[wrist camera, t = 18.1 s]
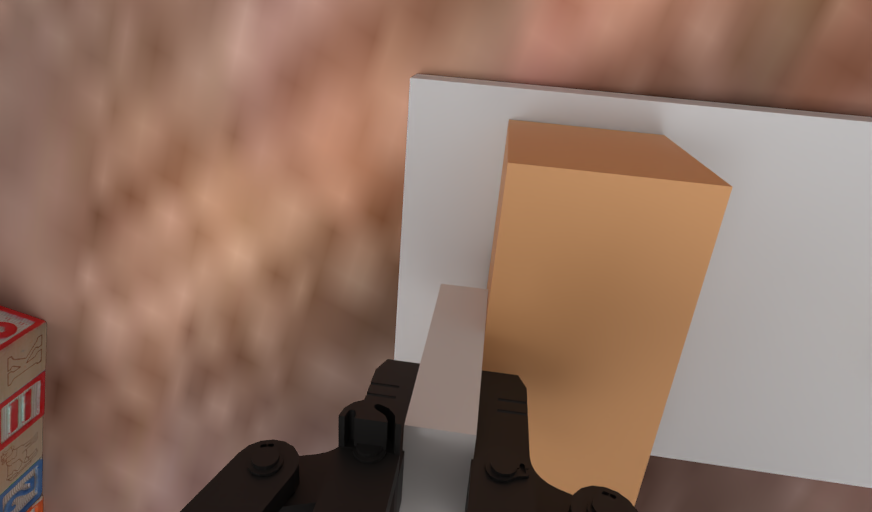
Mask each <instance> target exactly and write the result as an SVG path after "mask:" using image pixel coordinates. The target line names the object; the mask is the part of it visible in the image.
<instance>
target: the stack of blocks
mask: <svg viewBox="0 0 872 512" xmlns="http://www.w3.org/2000/svg"><path fill="white" fill-rule="evenodd" d="M46 335H47V324H46V321H44V320H41V319H38V318H35V317H32V316H29V315H27V314H24V313H21V312H18V311H15V310H12V309H9V308H6V307H3V306H0V512H43V496H42V495H41V494H42V464H43V458H42V438H43V415H44V406H45V367H46Z"/></svg>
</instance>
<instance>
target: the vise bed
mask: <svg viewBox="0 0 872 512" xmlns="http://www.w3.org/2000/svg"><path fill="white" fill-rule="evenodd" d="M509 119H511V120H520V121H530V122H540V123H550V124H560V125H570V126H580V127H590V128H600V129H610V130H620V131H629V132H639V133H649V134H659V135H665V136H666V137H667V138H669V139H670V140H671V141H673V142H674V143H675V144H677V145H678V146H679V147H681V148H682V149H683V150H685V151H686V152H687V153H689V154H690V155H691V156H693V157H694V158H695V159H697V160H698V161H699V162H700V163H702V164H703V165H704V166H706V167H707V168H708V169H710V170H711V171H712V172H714V173H715V174H716V175H718V176H719V177H720V178H722V179H723V180H724V181H726V182H727V183H728V184H730V185H731V186H732V191H731V194H730V197H729V200H728V204H727V207H726V210H725V213H724V217H723V220H722V223H721V226H720V230H719V233H718V236H717V239H716V243H715V246H714V249H713V252H712V256H711V259H710V262H709V265H708V269H707V272H706V275H705V278H704V282H703V285H702V288H701V291H700V295H699V298H698V301H697V304H696V308H695V311H694V314H693V317H692V321H691V324H690V327H689V330H688V334H687V337H686V340H685V343H684V347H683V350H682V353H681V356H680V360H679V363H678V366H677V369H676V373H675V376H674V379H673V382H672V386H671V389H670V392H669V395H668V399H667V402H666V405H665V408H664V412H663V415H662V418H661V421H660V425H659V428H658V431H657V434H656V438H655V441H654V444H653V447H652V451H651V454H650V455H652V456H659V457H665V458H672V459H679V460H686V461H692V462H699V463H706V464H713V465H719V466H726V467H733V468H740V469H746V470H753V471H760V472H767V473H773V474H780V475H787V476H794V477H800V478H807V479H814V480H820V481H827V482H834V483H841V484H847V485H854V486H861V487H868V488H872V117H866V116H855V115H845V114H834V113H824V112H813V111H803V110H792V109H782V108H771V107H761V106H750V105H740V104H730V103H719V102H709V101H698V100H688V99H677V98H667V97H656V96H646V95H635V94H625V93H614V92H604V91H593V90H583V89H572V88H562V87H551V86H541V85H530V84H520V83H510V82H499V81H489V80H478V79H468V78H457V77H447V76H436V75H426V74H416V75H414V76H412V77H411V78H410V90H409V107H408V125H407V143H406V160H405V178H404V195H403V213H402V230H401V248H400V265H399V283H398V301H397V318H396V336H395V353H394V360H398V361H405V362H413V363H420V362H421V358H422V355H423V351H424V347H425V343H426V339H427V336H428V332H429V328H430V324H431V320H432V316H433V313H434V309H435V305H436V301H437V297H438V293H439V290H440V286H441V284H448V285H457V286H465V287H473V288H482V289H487V283H488V275H489V267H490V260H491V252H492V244H493V236H494V229H495V221H496V213H497V206H498V198H499V190H500V183H501V175H502V167H503V160H504V152H505V144H506V137H507V129H508V121H509Z"/></svg>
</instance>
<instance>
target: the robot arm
mask: <svg viewBox="0 0 872 512" xmlns="http://www.w3.org/2000/svg"><path fill="white" fill-rule="evenodd" d="M487 299H488V289H482V288H473V287H465V286H457V285H448V284H441V286H440V290H439V293H438V297H437V301H436V305H435V309H434V313H433V316H432V320H431V324H430V328H429V332H428V336H427V339H426V343H425V347H424V351H423V355H422V358H421V362H420V363H413V362H405V361H398V360H390V359H387V360H386V361H385V362H384V363H383V364H382V365H380V366H379V367H378V368H377V369H376V371H375V373H374V376H373V378H372V381H371V385H370V386H369V389H368V391H367V395H366V397H365V399H364V400H362V401H358V402H354V403H352V404H350V405H349V406H347V407H345V408H344V409H343V411H342V412H341V413H340V415H339V447H337V448H336V449H334V450H331V451H329V452H326V453H321V454H315V455H305V456H299V454H298V453H297V451H296V450H295V448H294V447H293V446H292V445H290V444H288V443H286V442H284V441H278V440H265V441H259V442H257V443H254V444H251V445H249V446H247V447H246V448H245V449H243V450H242V451H241V452H239V453H238V454H237V455H236V456H235V457H234V458H233V459H232V460H231V461H230V462H229V463H228V464H227V465H226V466H225V467H224V468H223V469H222V470H221V471H220V472H219V473H218V474H217V475H216V476H215V477H214V478H213V479H212V480H211V481H210V482H209V483H208V484H207V485H206V486H205V487H204V488H203V489H202V490H201V491H200V492H199V493H198V494H197V495H196V496H195V497H194V498H193V499H192V500H191V501H190V502H189V503H188V504H187V505H186V506H185V507H184V508H183V509H182V510H181V511H180V512H638V511H637V510H636V509H635V507H634V506H633V505H632V503H631V502H630V501H629V500H628V499H627V498H625V497H624V496H622V495H621V494H620V493H618V492H616V491H614V490H611V489H609V488H606V487H601V486H588V487H583V488H581V489H579V490H578V491H577V492H576V493H574V494H573V495H572V494H569V493H567V492H565V491H562V490H560V489H558V488H556V487H554V486H552V485H550V484H548V483H547V482H546V481H544V480H543V479H542V478H541V477H540V476H539V475H538V474H537V473H536V472H535V470H534V468H533V466H532V464H531V460H530V451H529V429H528V406H527V388H526V386H525V385H524V383H523V382H522V380H521V379H520V377H519V376H518V375H513V374H506V373H498V372H490V371H483V370H482V361H483V348H484V336H485V324H486V311H487Z"/></svg>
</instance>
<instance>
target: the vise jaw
mask: <svg viewBox="0 0 872 512" xmlns="http://www.w3.org/2000/svg"><path fill="white" fill-rule="evenodd" d="M731 191H732V186H731V185H730V184H728V183H727V182H726V181H724V180H723V179H722V178H720V177H719V176H718V175H716V174H715V173H714V172H712V171H711V170H710V169H708V168H707V167H706V166H704V165H703V164H702V163H700V162H699V161H698V160H697V159H695V158H694V157H693V156H691V155H690V154H689V153H687V152H686V151H685V150H683V149H682V148H681V147H679V146H678V145H677V144H675V143H674V142H673V141H671V140H670V139H669V138H667V137H666V136H665V135H659V134H649V133H639V132H629V131H620V130H610V129H600V128H590V127H580V126H570V125H560V124H550V123H540V122H530V121H520V120H511V119H509V121H508V129H507V137H506V144H505V152H504V160H503V167H502V175H501V183H500V190H499V198H498V206H497V213H496V221H495V229H494V236H493V244H492V252H491V260H490V267H489V275H488V283H487V289H488V299H487V311H486V324H485V336H484V348H483V361H482V370H483V371H490V372H498V373H506V374H513V375H518V376H519V377H520V379H521V380H522V382H523V383H524V385H525V386H526V388H527V406H528V429H529V451H530V460H531V464H532V466H533V468H534V470H535V472H536V473H537V474H538V475H539V476H540V477H541V478H542V479H543V480H544V481H546V482H547V483H548V484H550V485H552V486H554V487H556V488H558V489H560V490H562V491H565V492H567V493H569V494H572V495H573V494H574V493H576V492H577V491H578V490H579V489H581V488H583V487H588V486H601V487H606V488H609V489H611V490H614V491H616V492H618V493H620V494H621V495H622V496H624V497H625V498H627V499H628V500H629V501H630V502H631V503H632V505H633V506H635V503H636V499H637V496H638V493H639V490H640V486H641V483H642V480H643V477H644V473H645V470H646V467H647V464H648V460H649V457H650V454H651V451H652V447H653V444H654V441H655V438H656V434H657V431H658V428H659V425H660V421H661V418H662V415H663V412H664V408H665V405H666V402H667V399H668V395H669V392H670V389H671V386H672V382H673V379H674V376H675V373H676V369H677V366H678V363H679V360H680V356H681V353H682V350H683V347H684V343H685V340H686V337H687V334H688V330H689V327H690V324H691V321H692V317H693V314H694V311H695V308H696V304H697V301H698V298H699V295H700V291H701V288H702V285H703V282H704V278H705V275H706V272H707V269H708V265H709V262H710V259H711V256H712V252H713V249H714V246H715V243H716V239H717V236H718V233H719V230H720V226H721V223H722V220H723V217H724V213H725V210H726V207H727V204H728V200H729V197H730V194H731Z"/></svg>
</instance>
